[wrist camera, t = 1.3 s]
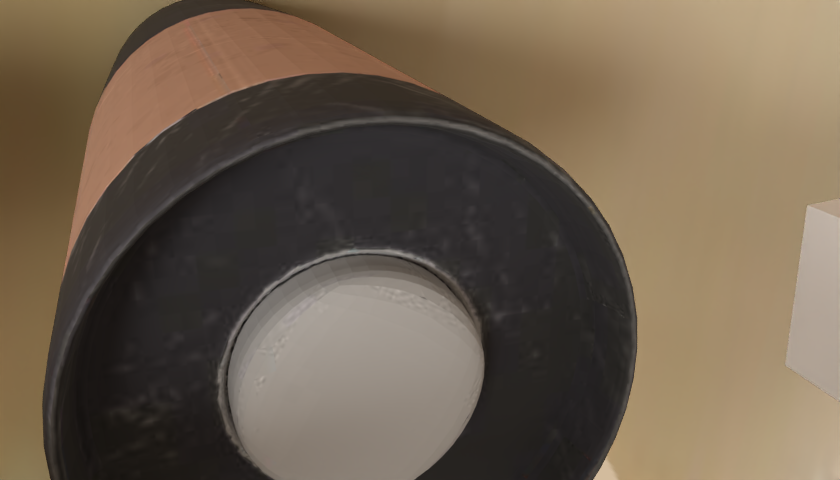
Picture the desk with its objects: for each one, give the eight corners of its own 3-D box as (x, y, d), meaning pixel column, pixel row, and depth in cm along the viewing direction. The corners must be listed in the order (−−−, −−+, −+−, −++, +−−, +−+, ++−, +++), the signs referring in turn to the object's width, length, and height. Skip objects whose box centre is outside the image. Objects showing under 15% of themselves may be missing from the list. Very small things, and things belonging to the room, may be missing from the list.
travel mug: (215, -65, 25) (405, -64, 8) (369, 102, 29) (739, 366, 11) (48, 100, 25) (-150, 483, 8) (222, 246, 29) (360, 733, 11)
